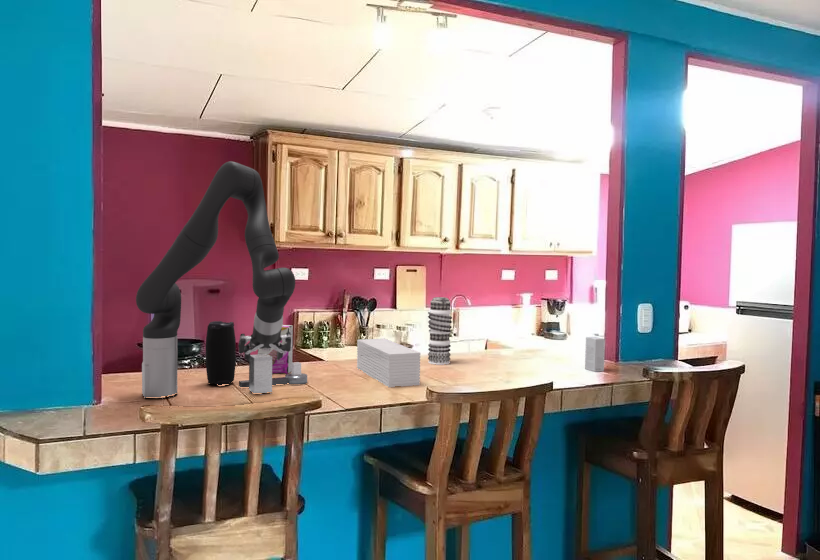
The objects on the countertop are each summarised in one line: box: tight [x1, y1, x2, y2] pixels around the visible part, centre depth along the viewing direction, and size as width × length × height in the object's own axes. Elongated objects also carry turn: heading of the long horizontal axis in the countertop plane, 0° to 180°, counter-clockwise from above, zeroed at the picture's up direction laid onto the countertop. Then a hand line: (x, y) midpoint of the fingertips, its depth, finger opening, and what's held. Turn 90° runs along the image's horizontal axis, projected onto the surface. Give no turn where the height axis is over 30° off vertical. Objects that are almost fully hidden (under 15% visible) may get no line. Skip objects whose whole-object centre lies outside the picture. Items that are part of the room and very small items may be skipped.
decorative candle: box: [427, 296, 453, 366], centre depth 243 cm, size 9×9×25 cm
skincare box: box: [584, 336, 606, 373], centre depth 234 cm, size 6×4×12 cm
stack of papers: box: [356, 337, 421, 388], centre depth 216 cm, size 32×11×11 cm, turn 23°
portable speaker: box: [205, 320, 237, 386], centre depth 199 cm, size 9×9×20 cm
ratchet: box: [238, 361, 308, 387], centre depth 200 cm, size 22×7×6 cm, turn 120°
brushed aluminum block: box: [248, 353, 273, 393], centre depth 190 cm, size 5×5×11 cm
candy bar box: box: [257, 324, 294, 375], centre depth 219 cm, size 11×5×16 cm, turn 84°
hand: (263, 358), depth 183 cm, fingers open, 8 cm apart
